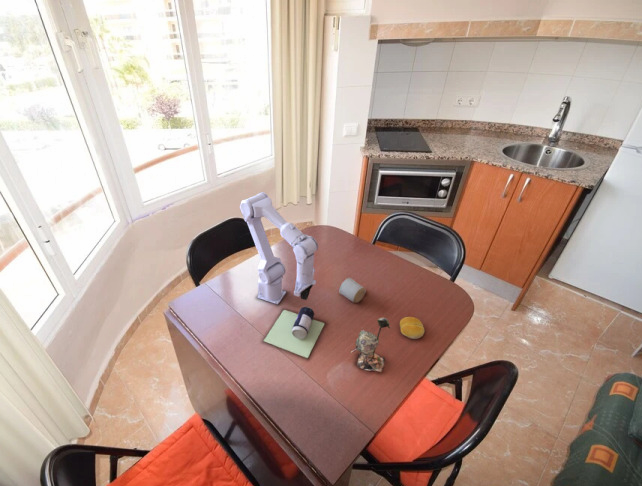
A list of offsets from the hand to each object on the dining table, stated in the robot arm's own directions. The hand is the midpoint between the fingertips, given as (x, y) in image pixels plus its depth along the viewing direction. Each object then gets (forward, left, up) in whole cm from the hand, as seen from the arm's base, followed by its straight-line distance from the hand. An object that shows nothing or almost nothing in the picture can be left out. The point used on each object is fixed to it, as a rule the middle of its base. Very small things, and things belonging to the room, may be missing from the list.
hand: (304, 298), depth 119 cm
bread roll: (+38, +10, -10) cm, 41 cm away
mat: (0, -9, -10) cm, 13 cm away
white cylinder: (+14, +19, -10) cm, 26 cm away
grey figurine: (+27, -10, -10) cm, 30 cm away
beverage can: (+1, +1, -7) cm, 7 cm away
